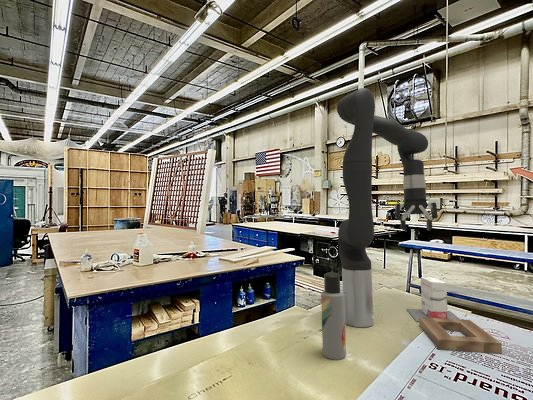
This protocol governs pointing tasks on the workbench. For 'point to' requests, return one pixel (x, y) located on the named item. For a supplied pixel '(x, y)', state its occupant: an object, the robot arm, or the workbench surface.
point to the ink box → (434, 297)
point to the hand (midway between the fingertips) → (416, 230)
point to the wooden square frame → (472, 342)
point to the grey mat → (418, 313)
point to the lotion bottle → (333, 317)
